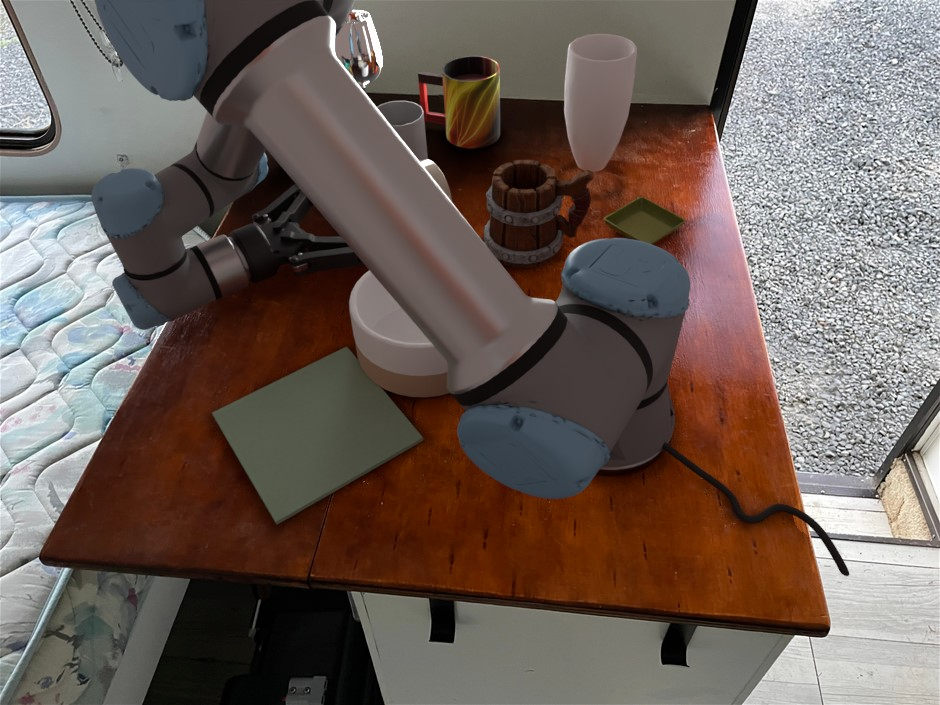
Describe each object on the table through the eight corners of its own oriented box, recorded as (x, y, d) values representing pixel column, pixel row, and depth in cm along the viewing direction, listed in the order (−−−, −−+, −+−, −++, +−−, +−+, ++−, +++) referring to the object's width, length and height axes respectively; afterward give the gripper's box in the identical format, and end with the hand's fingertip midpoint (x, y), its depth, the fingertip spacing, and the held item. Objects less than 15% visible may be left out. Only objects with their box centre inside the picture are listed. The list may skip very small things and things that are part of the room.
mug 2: (482, 217, 108) (498, 129, 97) (573, 236, 108) (600, 150, 97) (471, 266, 100) (487, 176, 89) (570, 286, 100) (598, 198, 89)
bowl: (517, 330, 92) (520, 280, 86) (447, 419, 81) (444, 368, 75) (407, 287, 98) (402, 237, 92) (328, 364, 87) (318, 314, 81)
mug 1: (422, 124, 130) (416, 59, 121) (497, 119, 130) (496, 53, 121) (423, 151, 123) (417, 85, 114) (503, 146, 123) (502, 79, 115)
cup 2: (626, 197, 111) (645, 62, 96) (559, 199, 112) (568, 64, 96) (617, 162, 118) (634, 30, 103) (555, 163, 119) (562, 33, 103)
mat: (423, 440, 80) (423, 437, 79) (276, 525, 73) (275, 522, 72) (347, 349, 90) (346, 346, 90) (212, 415, 83) (211, 412, 83)
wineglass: (399, 125, 130) (386, 12, 115) (373, 145, 125) (356, 29, 111) (366, 115, 133) (349, 4, 118) (339, 134, 128) (318, 20, 114)
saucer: (645, 256, 101) (647, 245, 99) (600, 229, 106) (602, 218, 104) (685, 232, 105) (687, 220, 103) (639, 206, 109) (641, 195, 108)
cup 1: (421, 184, 116) (415, 128, 109) (372, 180, 117) (364, 124, 110) (433, 157, 122) (428, 102, 114) (387, 153, 123) (379, 99, 116)
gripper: (213, 237, 104) (340, 187, 112) (286, 331, 90) (426, 265, 98) (197, 194, 99) (332, 144, 107) (271, 286, 84) (421, 221, 92)
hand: (377, 202), depth 102 cm, fingers open, 13 cm apart
